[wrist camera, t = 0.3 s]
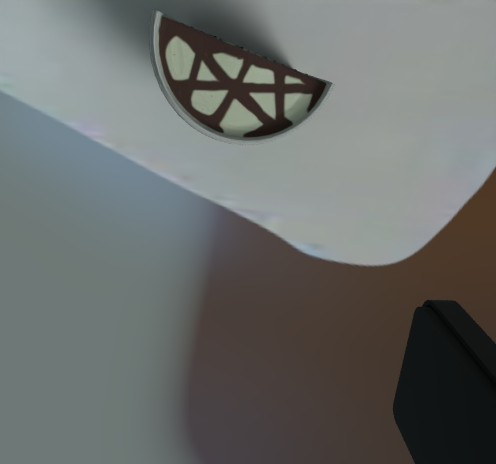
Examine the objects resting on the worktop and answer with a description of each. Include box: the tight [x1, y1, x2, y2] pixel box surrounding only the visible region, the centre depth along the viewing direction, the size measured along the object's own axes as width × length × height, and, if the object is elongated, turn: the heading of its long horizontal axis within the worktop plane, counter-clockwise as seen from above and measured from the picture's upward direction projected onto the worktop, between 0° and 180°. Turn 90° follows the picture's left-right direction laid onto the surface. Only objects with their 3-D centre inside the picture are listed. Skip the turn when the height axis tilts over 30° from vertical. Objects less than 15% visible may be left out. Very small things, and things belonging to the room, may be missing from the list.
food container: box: [149, 10, 335, 145], centre depth 32 cm, size 12×6×10 cm, turn 69°
